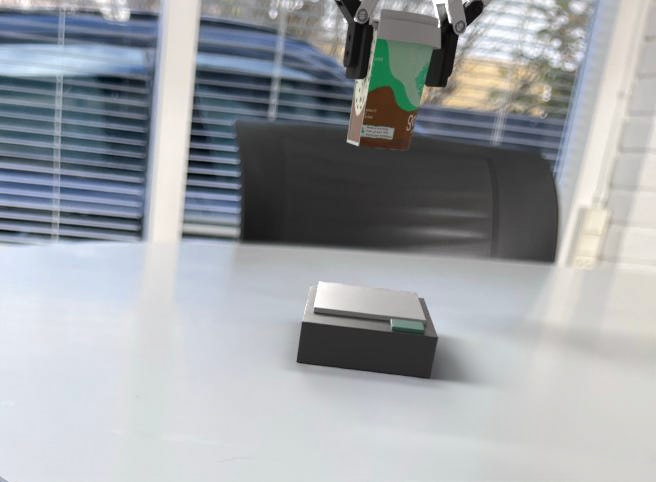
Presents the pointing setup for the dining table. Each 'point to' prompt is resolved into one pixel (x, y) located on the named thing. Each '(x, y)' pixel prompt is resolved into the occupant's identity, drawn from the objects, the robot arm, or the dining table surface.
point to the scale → (367, 330)
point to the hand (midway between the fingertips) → (395, 81)
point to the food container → (393, 80)
